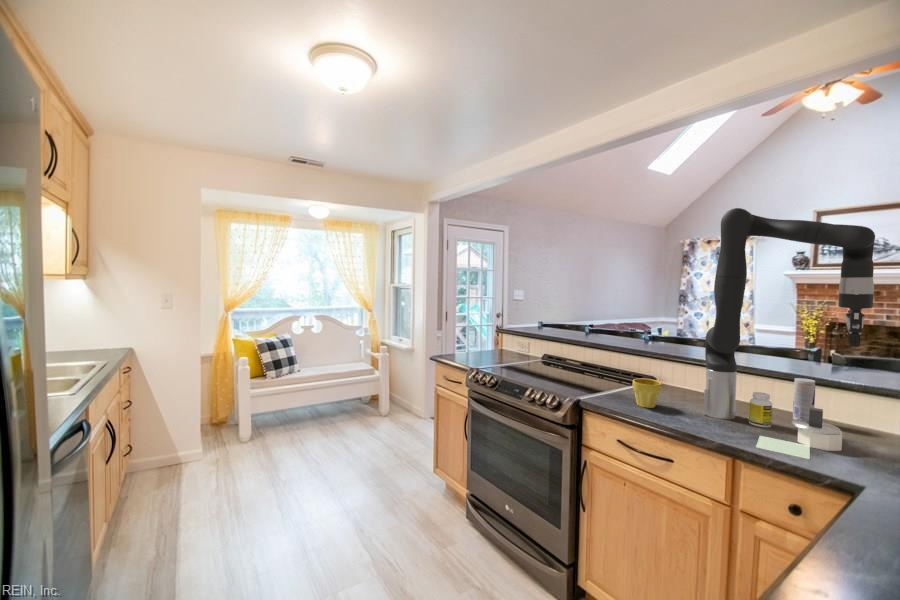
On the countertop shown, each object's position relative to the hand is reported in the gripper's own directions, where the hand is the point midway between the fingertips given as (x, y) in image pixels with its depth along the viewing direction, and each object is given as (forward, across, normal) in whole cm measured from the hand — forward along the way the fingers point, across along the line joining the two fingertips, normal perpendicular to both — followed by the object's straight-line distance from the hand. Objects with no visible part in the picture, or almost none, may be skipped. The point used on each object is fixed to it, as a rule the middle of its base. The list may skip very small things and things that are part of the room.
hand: (853, 344), depth 124 cm
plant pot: (+30, +5, -58) cm, 66 cm away
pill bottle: (+30, +2, -22) cm, 38 cm away
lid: (+25, +11, -8) cm, 28 cm away
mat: (+30, +21, -15) cm, 40 cm away
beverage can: (+30, -13, -11) cm, 35 cm away
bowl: (+30, +11, -7) cm, 33 cm away
